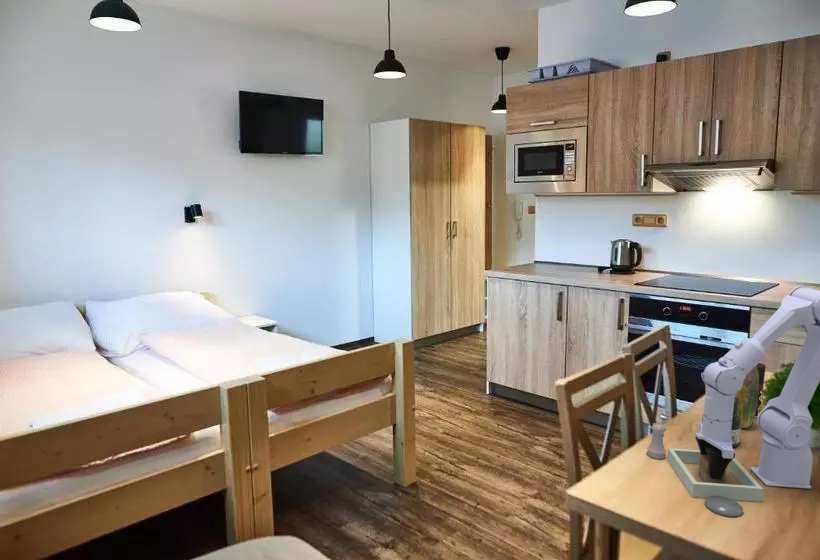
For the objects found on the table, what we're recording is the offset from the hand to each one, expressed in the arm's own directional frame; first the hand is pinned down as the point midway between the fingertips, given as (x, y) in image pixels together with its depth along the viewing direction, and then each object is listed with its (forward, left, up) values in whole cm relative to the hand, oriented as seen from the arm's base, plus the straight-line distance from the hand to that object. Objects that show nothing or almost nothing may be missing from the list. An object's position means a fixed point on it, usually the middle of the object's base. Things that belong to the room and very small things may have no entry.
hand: (711, 473), depth 131 cm
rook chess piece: (+9, -10, -2) cm, 14 cm away
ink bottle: (-10, -22, -2) cm, 24 cm away
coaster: (+2, +12, -1) cm, 12 cm away
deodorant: (-26, -42, -2) cm, 50 cm away
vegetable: (-20, -32, -2) cm, 38 cm away
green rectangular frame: (0, 0, -1) cm, 1 cm away
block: (0, 0, -1) cm, 1 cm away
